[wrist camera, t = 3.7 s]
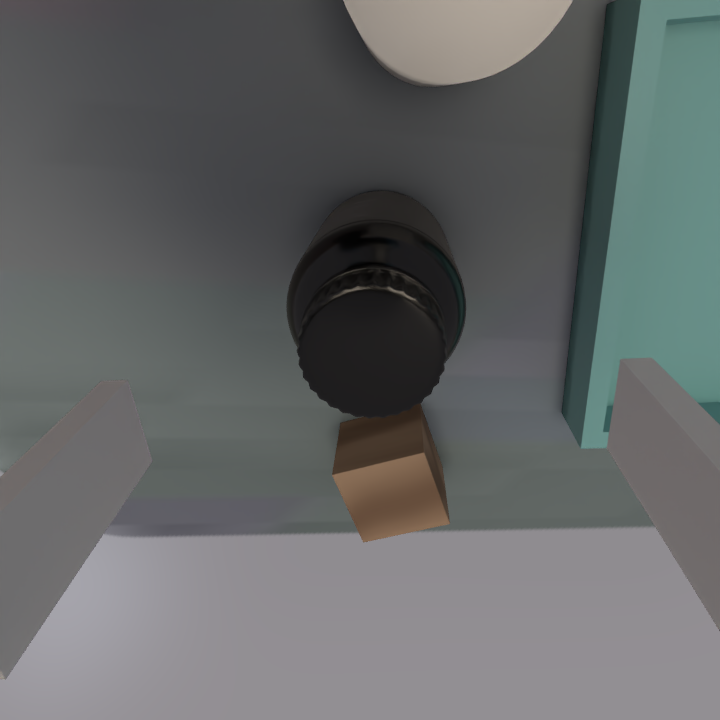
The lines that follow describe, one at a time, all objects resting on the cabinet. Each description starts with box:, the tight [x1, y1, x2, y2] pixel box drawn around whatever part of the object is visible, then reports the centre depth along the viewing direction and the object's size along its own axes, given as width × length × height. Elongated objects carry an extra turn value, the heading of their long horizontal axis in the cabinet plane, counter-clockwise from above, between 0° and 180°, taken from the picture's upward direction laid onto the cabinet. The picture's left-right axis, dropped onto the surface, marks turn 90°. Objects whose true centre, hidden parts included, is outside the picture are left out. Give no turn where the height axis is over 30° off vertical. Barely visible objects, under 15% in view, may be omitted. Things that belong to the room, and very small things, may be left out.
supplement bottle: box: [287, 191, 466, 419], centre depth 22 cm, size 7×7×12 cm
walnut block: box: [332, 404, 450, 542], centre depth 30 cm, size 5×5×5 cm
